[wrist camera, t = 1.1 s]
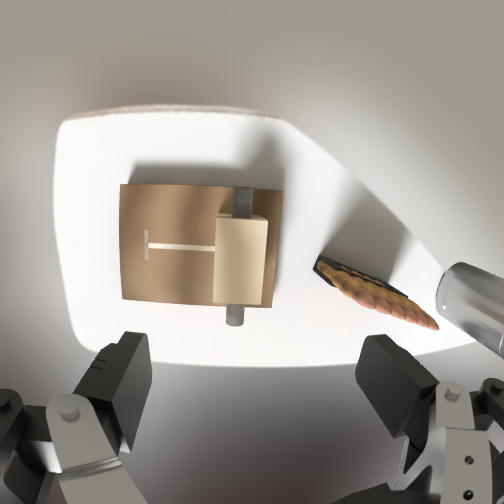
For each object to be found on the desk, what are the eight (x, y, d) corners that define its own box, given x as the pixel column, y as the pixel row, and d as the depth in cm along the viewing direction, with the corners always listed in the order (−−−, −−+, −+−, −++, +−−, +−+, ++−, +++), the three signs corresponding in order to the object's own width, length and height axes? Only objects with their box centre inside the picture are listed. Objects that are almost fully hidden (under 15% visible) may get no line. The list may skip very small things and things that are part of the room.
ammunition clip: (387, 283, 32) (448, 322, 20) (381, 296, 32) (439, 339, 20) (318, 254, 30) (371, 293, 18) (312, 269, 30) (360, 315, 18)
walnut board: (278, 191, 28) (282, 191, 26) (268, 300, 30) (271, 307, 28) (127, 184, 26) (120, 184, 24) (128, 292, 28) (122, 299, 27)
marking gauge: (262, 189, 26) (270, 189, 21) (252, 307, 28) (258, 330, 23) (219, 186, 25) (218, 185, 20) (213, 306, 28) (212, 329, 23)
